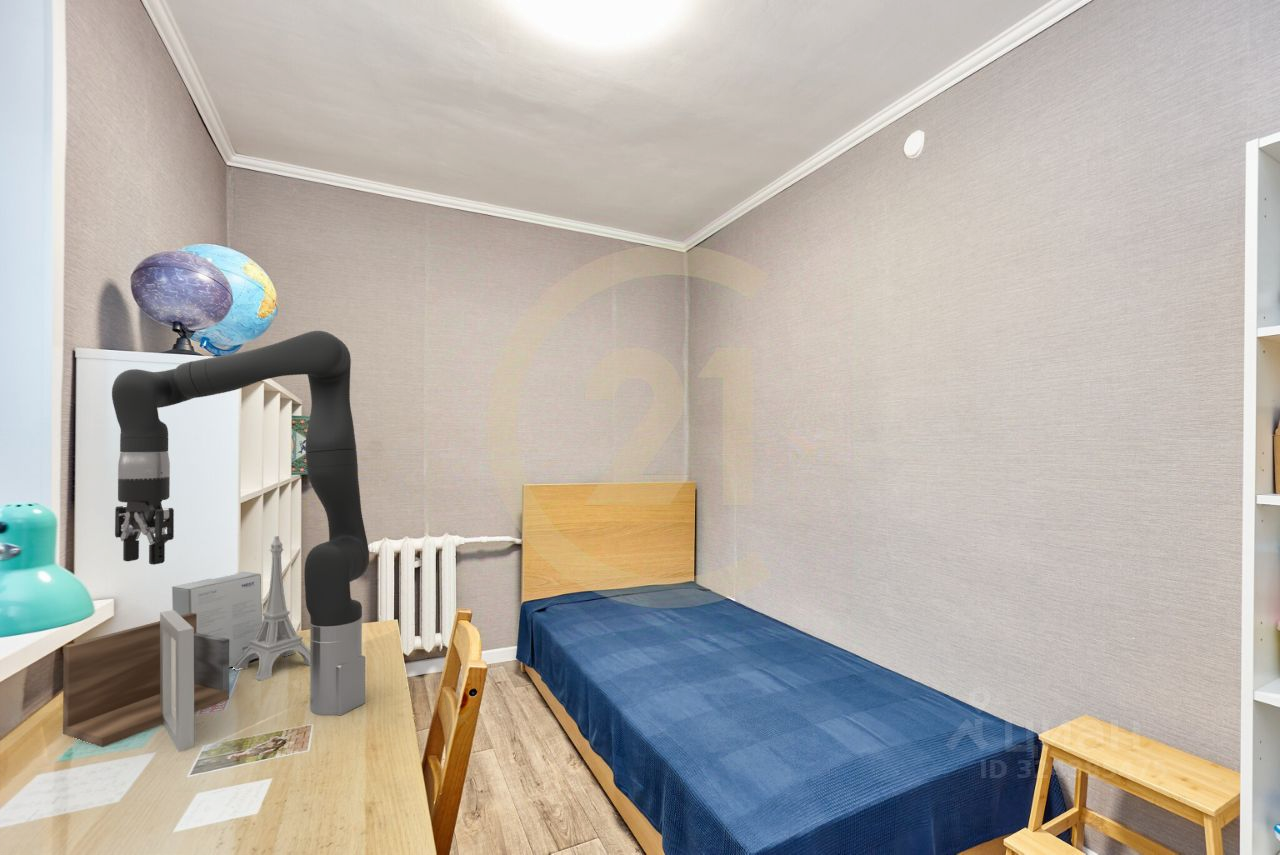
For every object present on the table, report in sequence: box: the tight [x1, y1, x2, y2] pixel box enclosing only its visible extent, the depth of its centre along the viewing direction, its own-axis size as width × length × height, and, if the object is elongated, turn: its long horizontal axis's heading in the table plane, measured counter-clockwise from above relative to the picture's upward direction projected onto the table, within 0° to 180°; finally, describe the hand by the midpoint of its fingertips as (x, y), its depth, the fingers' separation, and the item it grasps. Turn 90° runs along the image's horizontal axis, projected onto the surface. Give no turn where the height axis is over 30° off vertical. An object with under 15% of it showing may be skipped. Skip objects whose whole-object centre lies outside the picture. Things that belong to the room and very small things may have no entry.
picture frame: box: [159, 609, 195, 753], centre depth 106 cm, size 16×3×21 cm, turn 48°
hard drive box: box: [171, 571, 263, 668], centre depth 136 cm, size 16×8×20 cm, turn 152°
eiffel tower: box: [232, 535, 310, 682], centre depth 137 cm, size 13×13×30 cm
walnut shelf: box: [62, 613, 230, 748], centre depth 112 cm, size 12×21×16 cm, turn 158°
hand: (143, 562), depth 112 cm, fingers open, 7 cm apart
